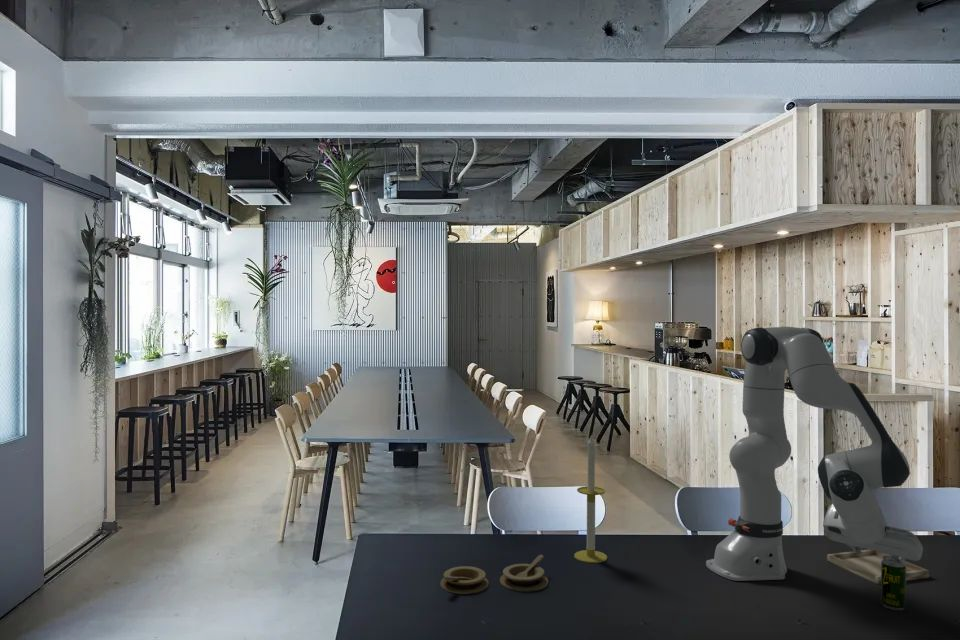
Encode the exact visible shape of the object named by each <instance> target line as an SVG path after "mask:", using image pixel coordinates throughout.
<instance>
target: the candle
mask: <svg viewBox="0 0 960 640" xmlns="http://www.w3.org/2000/svg"><path fill="white" fill-rule="evenodd" d="M595 481H596V442H595V441H594V438H593V435H592V433H591V434H590V437H589V440H588V441H587V486H580V487H578V488H577V489H576V491H577V492H578V494H582V495H586V549H585V550H584V549H583V550H579V551H576V552H575V553H574V555H573V557H574V559H576V560H577V561H578V562H582V563H587V564H599V563H603V562H605V561H607V560H608V556H607V554H605V553H604V552H602V551H597V550H596V496H601V495H604V494H605V493H606V489H604V488H601V487H598V486H595V485H596V483H595Z"/></svg>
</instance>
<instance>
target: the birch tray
mask: <svg viewBox="0 0 960 640" xmlns="http://www.w3.org/2000/svg"><path fill="white" fill-rule="evenodd" d="M883 556H893V555H889V554H885V553H881V552H877V551H873V550H869V549H862V550H861V553H858V552H854V551H853V550H852V551H844V552H836V553H828V554H826V561H827V562H828V561H829V563H830V562H831V563H830V564H832V563H833V565H835V566H837V567H839V568H841V569H844V570H846V571H848V572H849V573H852V574H854V575H856V576H859V577H861V578H862V579H865V580H866V581H867V580H868V581H869V582H872V583H874V584H876V585H881V561H882V557H883ZM905 564H906V582H907V581H914V580H920V579H921V580H922V579H928V578H930V570H928V569H926V568H924V567H922V566H919V565H916V564H914V563H911V562H909V561H906V560H905Z"/></svg>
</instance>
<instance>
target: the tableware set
mask: <svg viewBox="0 0 960 640" xmlns="http://www.w3.org/2000/svg"><path fill="white" fill-rule="evenodd" d="M543 560H544V555H543V554H539V555H538V556H536V557H535V558H534V559H533V561H532V562H531V563H515V564H510V565H509V566H506V567H505V568H503V570H502V575H501V576H500V578H499V582H500V585H501V586H502V587H504V588H506V589H508V590H511V591H515V592H516V591H517V592H535V591H539V590H543V589H544V588H546V587H547V586H548V585H549V578H548V577H547V576H546V575H545V570H544V568H542V567H541V566H539V564H540V563H541V562H542V561H543ZM486 575H487V573H486V572H485V570H483V569H481V568H479V567H476V566H469V565H468V566H463V565H462V566H455V567H452V568H451V567H450V568H449V569H447V570H446V571H444V572H443V578H442V579H441V580H440V583H439V584H440V588H442V589H443V590H444V591H446V592H449V593H451V594H458V595H471V594H472V595H473V594H476V593H480V592H482V591H484V590H486V589H487V588H488V587H489V583H490V582H489V580H488V579H487V578H486V577H487V576H486ZM537 581H538V582H537ZM536 583H538V584H536Z"/></svg>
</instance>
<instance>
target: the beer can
mask: <svg viewBox="0 0 960 640" xmlns="http://www.w3.org/2000/svg"><path fill="white" fill-rule="evenodd" d="M895 558H896V556H893V555H892V556H883V557H882V561H881V584H880V603H881V605H882V606H883V607H884V608H885V609H889V610H892V611H897V610H899V611H900V610H901V611H904V610H905V608H906V607H907V605H906V604H907V600H906V597H907V592H906V591H907V581H906V564H905V562H904V564H902V563H898V562H896V560H895Z"/></svg>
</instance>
